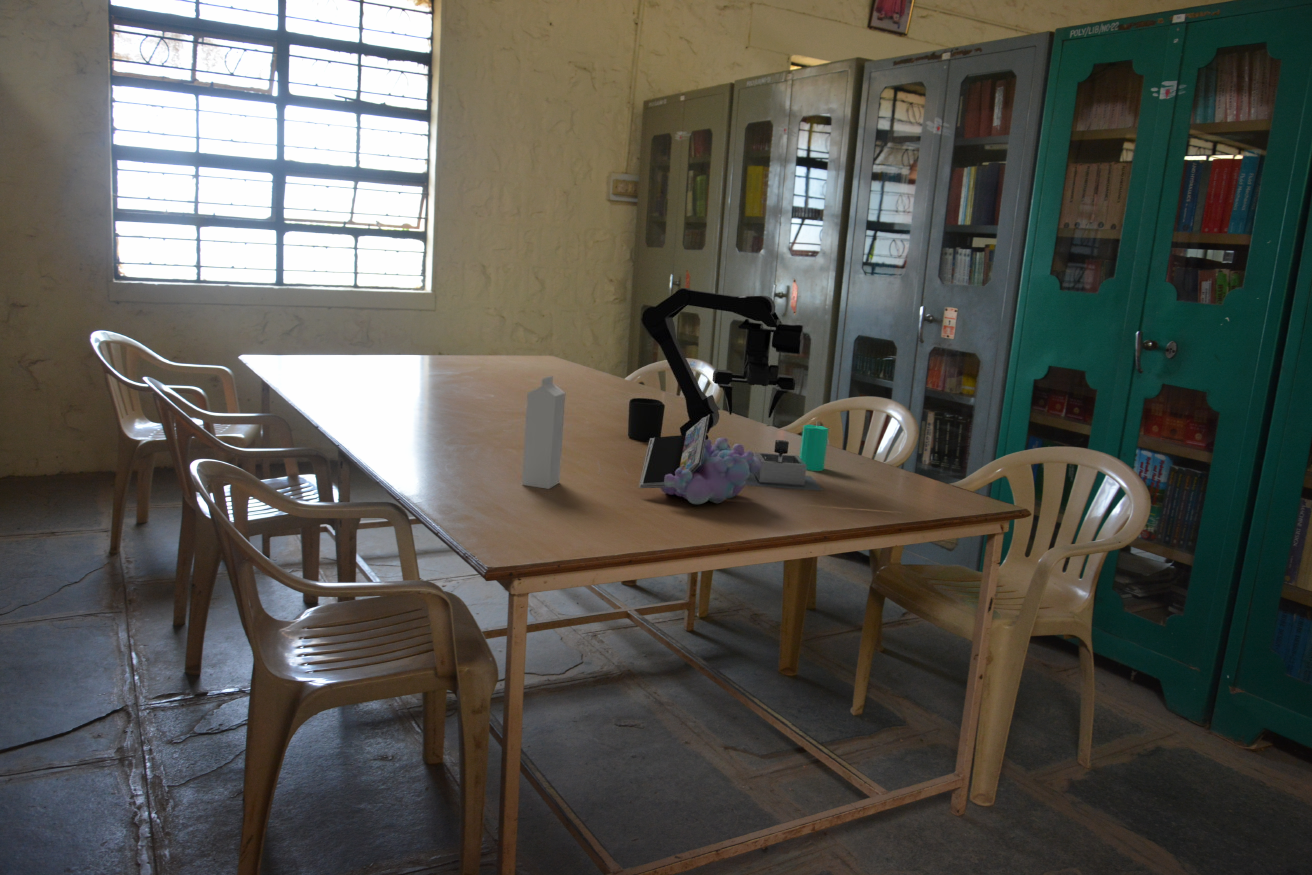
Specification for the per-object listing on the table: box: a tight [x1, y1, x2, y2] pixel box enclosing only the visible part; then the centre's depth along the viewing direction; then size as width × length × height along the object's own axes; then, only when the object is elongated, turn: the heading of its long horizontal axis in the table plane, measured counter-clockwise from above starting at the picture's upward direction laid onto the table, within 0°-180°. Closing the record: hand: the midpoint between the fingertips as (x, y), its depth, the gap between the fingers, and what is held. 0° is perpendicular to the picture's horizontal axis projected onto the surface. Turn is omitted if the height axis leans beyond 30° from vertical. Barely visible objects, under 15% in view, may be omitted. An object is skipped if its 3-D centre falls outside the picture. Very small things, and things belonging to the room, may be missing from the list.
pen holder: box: [627, 397, 666, 442], centre depth 249 cm, size 9×9×10 cm
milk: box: [521, 375, 566, 490], centre depth 190 cm, size 6×6×22 cm
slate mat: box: [745, 473, 825, 492], centre depth 213 cm, size 18×14×1 cm
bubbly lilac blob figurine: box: [638, 414, 762, 505], centre depth 190 cm, size 20×22×18 cm
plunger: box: [773, 439, 789, 462], centre depth 212 cm, size 7×7×8 cm
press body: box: [753, 451, 807, 487], centre depth 213 cm, size 13×10×5 cm
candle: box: [799, 421, 829, 472], centre depth 229 cm, size 6×6×12 cm
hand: (749, 416), depth 222 cm, fingers open, 9 cm apart
